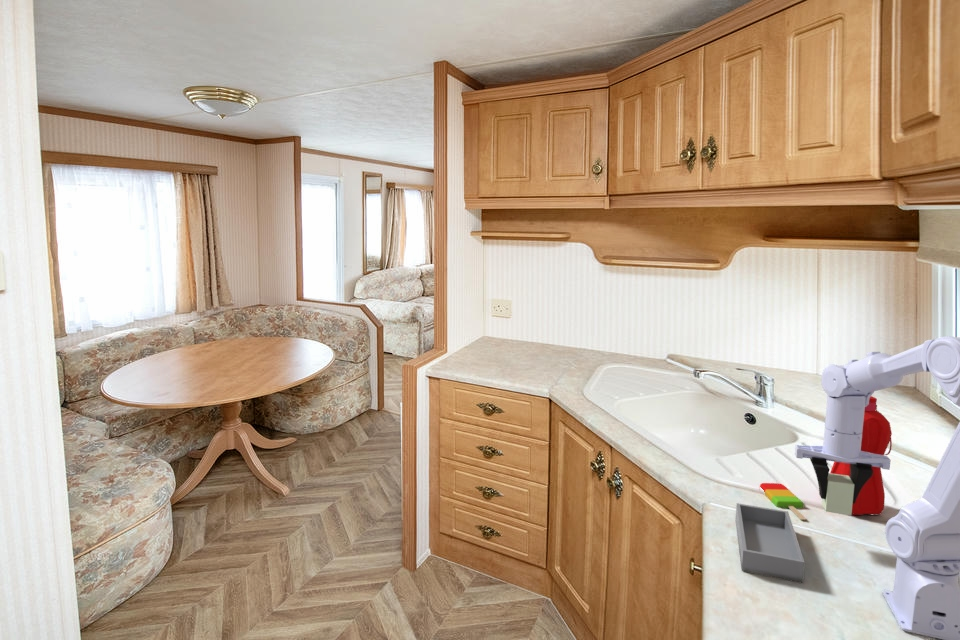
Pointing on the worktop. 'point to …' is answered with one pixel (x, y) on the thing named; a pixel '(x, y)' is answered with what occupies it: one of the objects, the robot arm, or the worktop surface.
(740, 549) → the bin
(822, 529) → the worktop surface
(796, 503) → the popsicle
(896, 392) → the worktop surface
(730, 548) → the worktop surface
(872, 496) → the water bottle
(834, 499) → the sage block
